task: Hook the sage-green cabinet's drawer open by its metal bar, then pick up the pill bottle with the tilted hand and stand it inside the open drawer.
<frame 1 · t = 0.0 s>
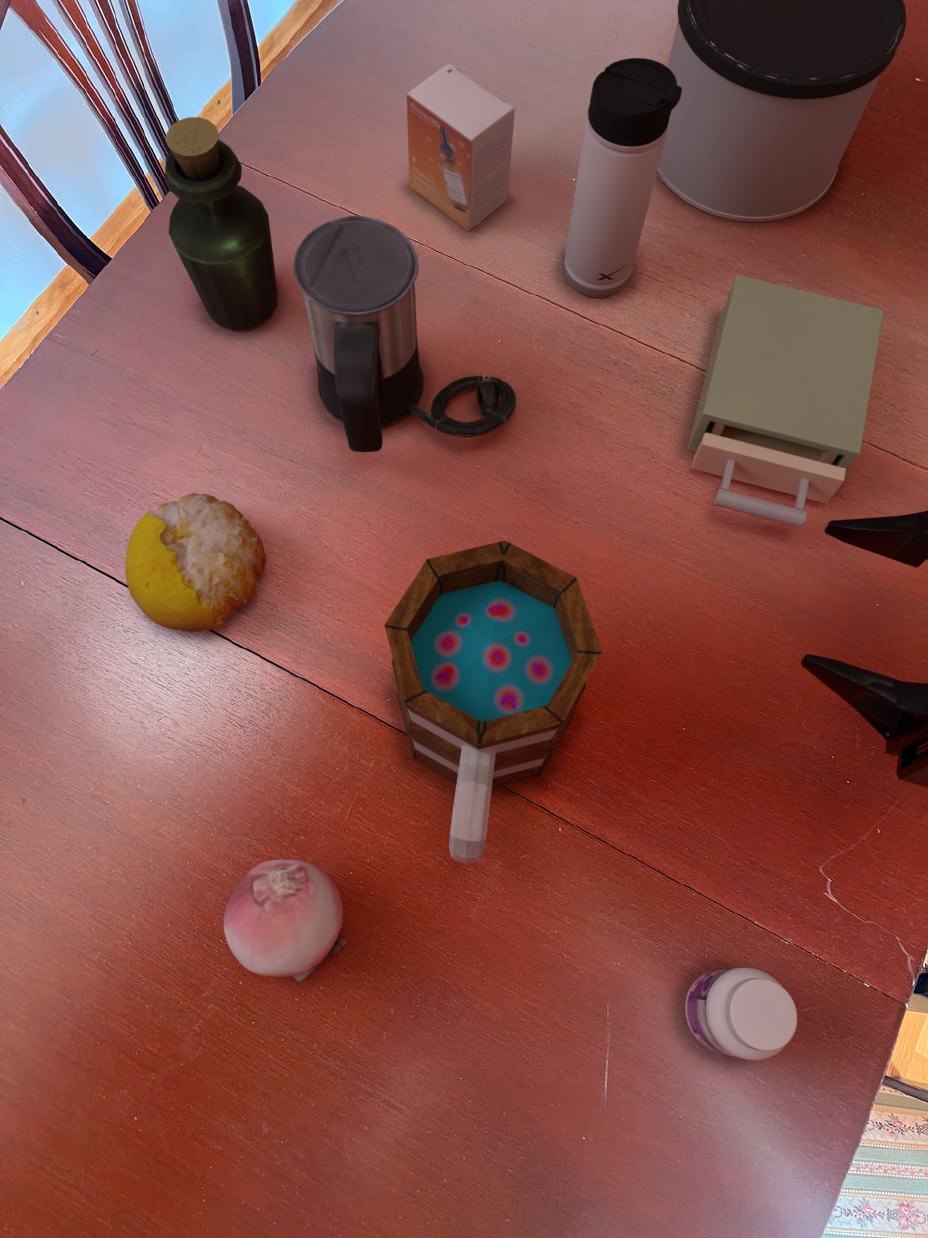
hand: (815, 590, 58), 17 cm above the table, tool horizontal, fingers open, 9 cm apart
mug: (479, 745, 72), on the table
pill bottle: (720, 1011, 65), on the table
milk frother: (415, 398, 83), on the table
container: (742, 150, 94), on the table
drawer: (775, 427, 79), point 3 cm above the table, slide at 1.0 cm
small box: (458, 196, 91), on the table
turnip: (292, 923, 67), on the table
cabinet: (774, 399, 83), on the table
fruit: (205, 575, 77), on the table
potion bottle: (242, 304, 86), on the table
travel mug: (598, 273, 88), on the table
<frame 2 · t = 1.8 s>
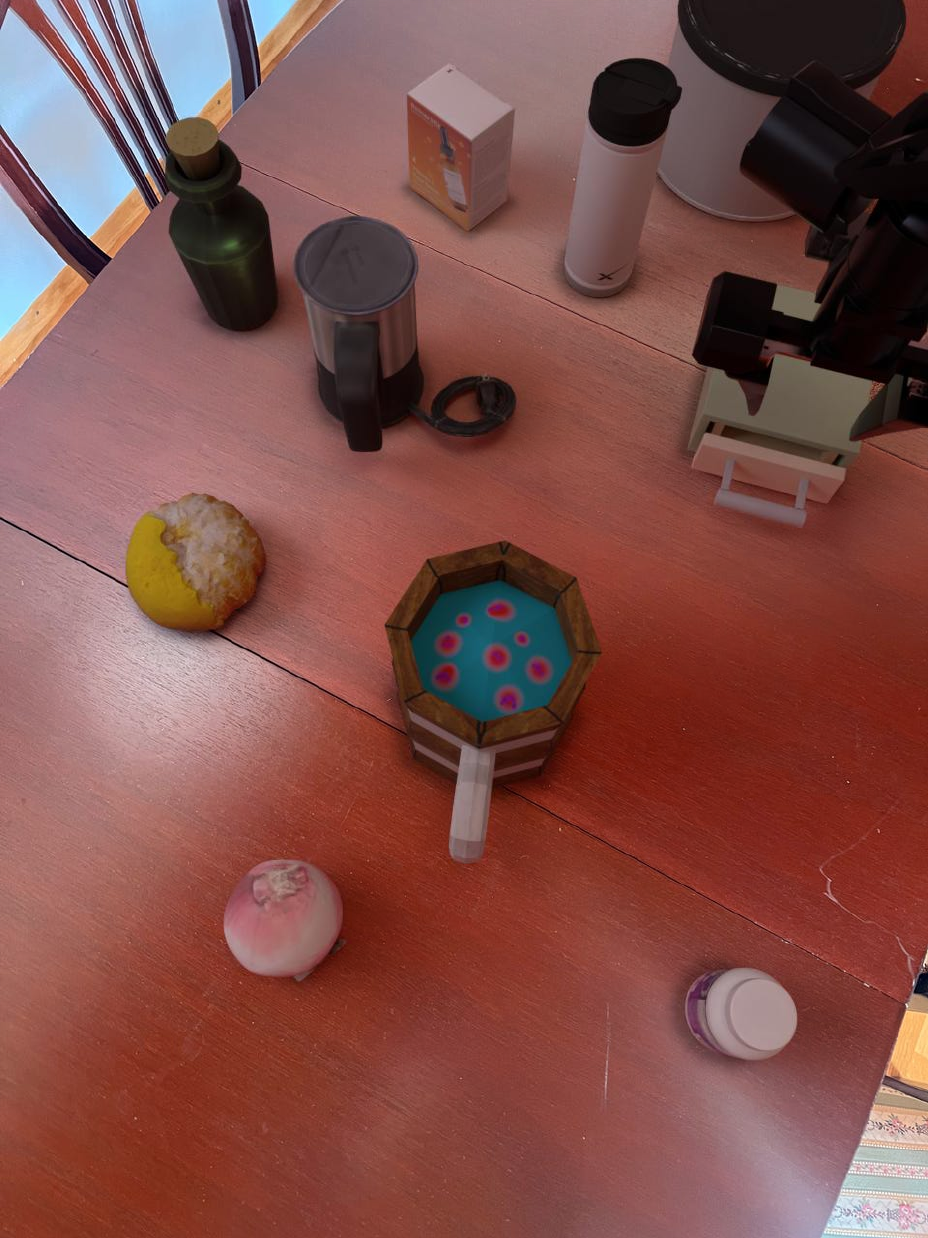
hand: (802, 422, 68), 12 cm above the table, tool pointing down, fingers open, 7 cm apart
nothing on the table moved.
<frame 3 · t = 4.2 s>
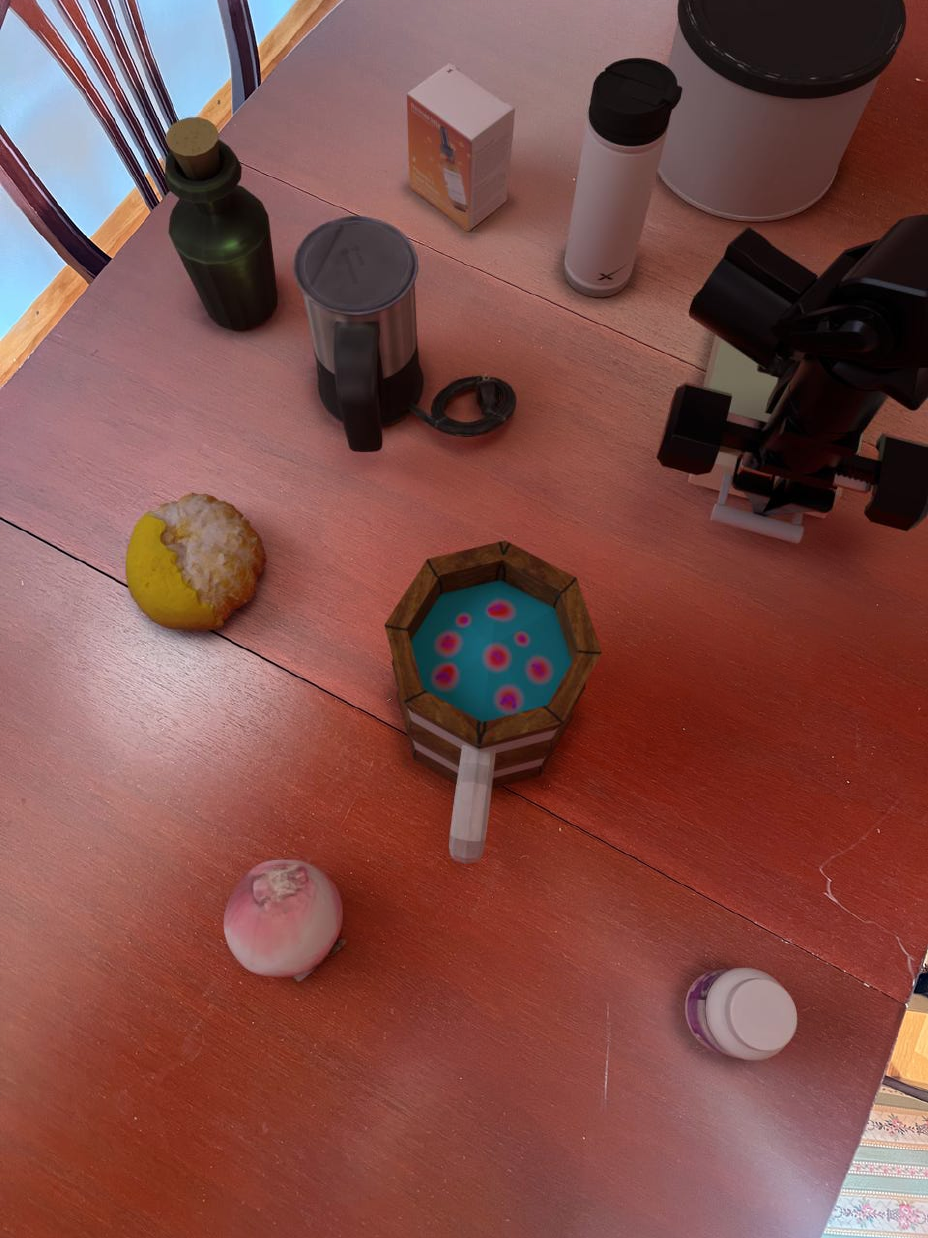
hand: (759, 510, 76), 3 cm above the table, tool pointing down, fingers closed
drawer: (772, 441, 78), point 3 cm above the table, slide at 2.4 cm, touching gripper
everything else where it was.
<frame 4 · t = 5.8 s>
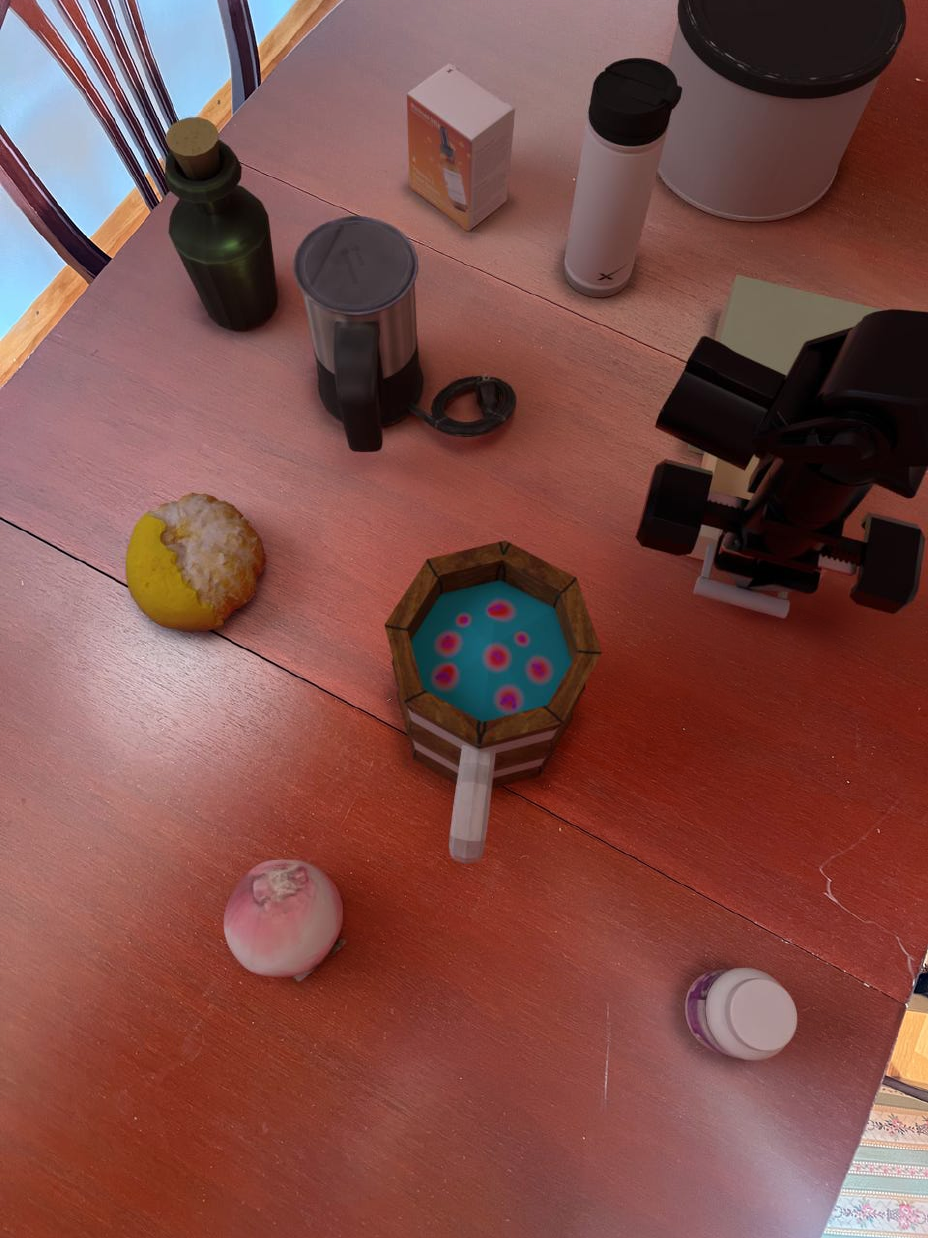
hand: (743, 583, 73), 3 cm above the table, tool pointing down, fingers closed, pressing on drawer
drawer: (758, 509, 76), point 3 cm above the table, slide at 9.0 cm, touching gripper
everything else where it was.
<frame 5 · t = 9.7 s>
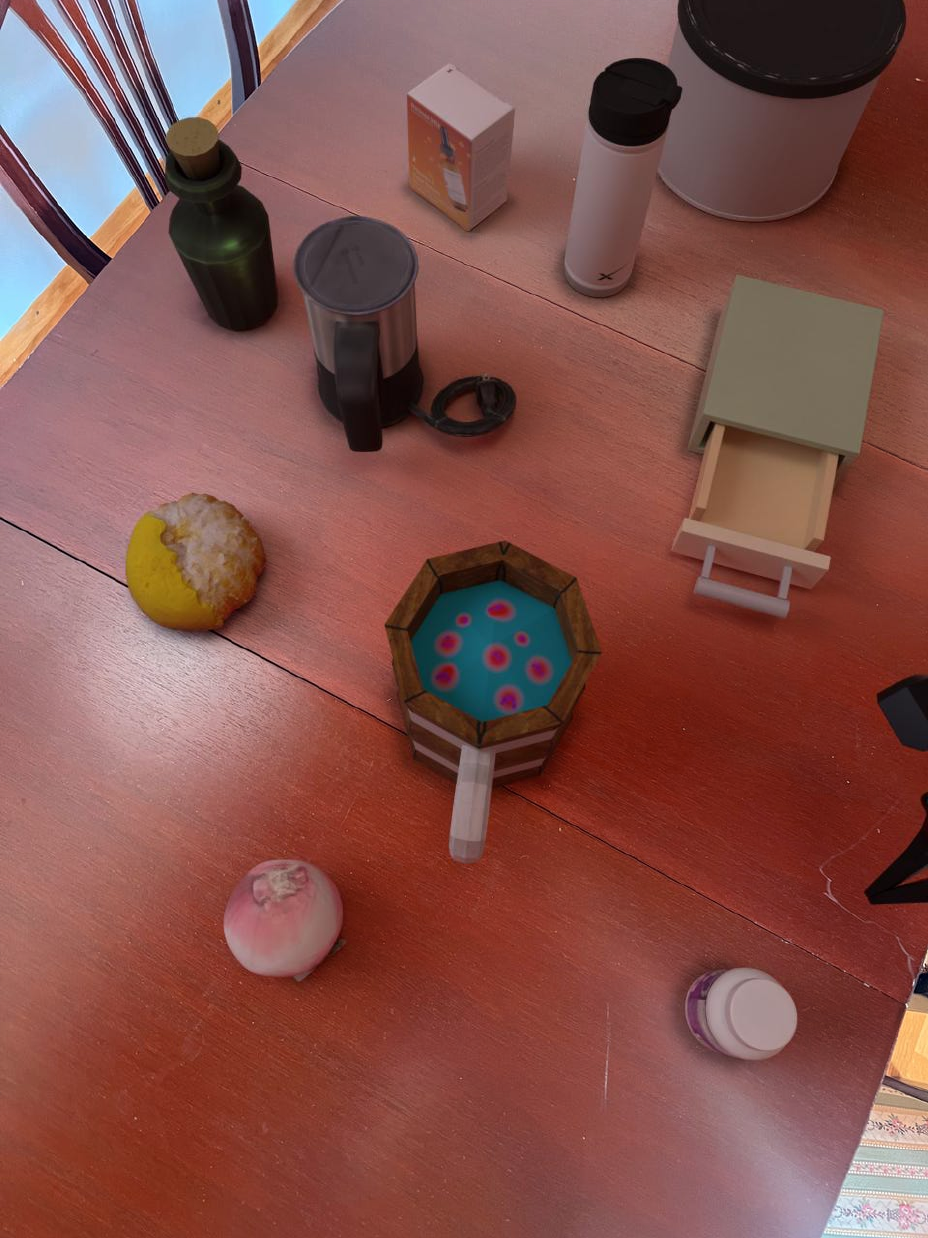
hand: (869, 897, 55), 13 cm above the table, tool tilted 40°, fingers closed
drawer: (758, 510, 76), point 3 cm above the table, slide at 9.0 cm
everything else where it was.
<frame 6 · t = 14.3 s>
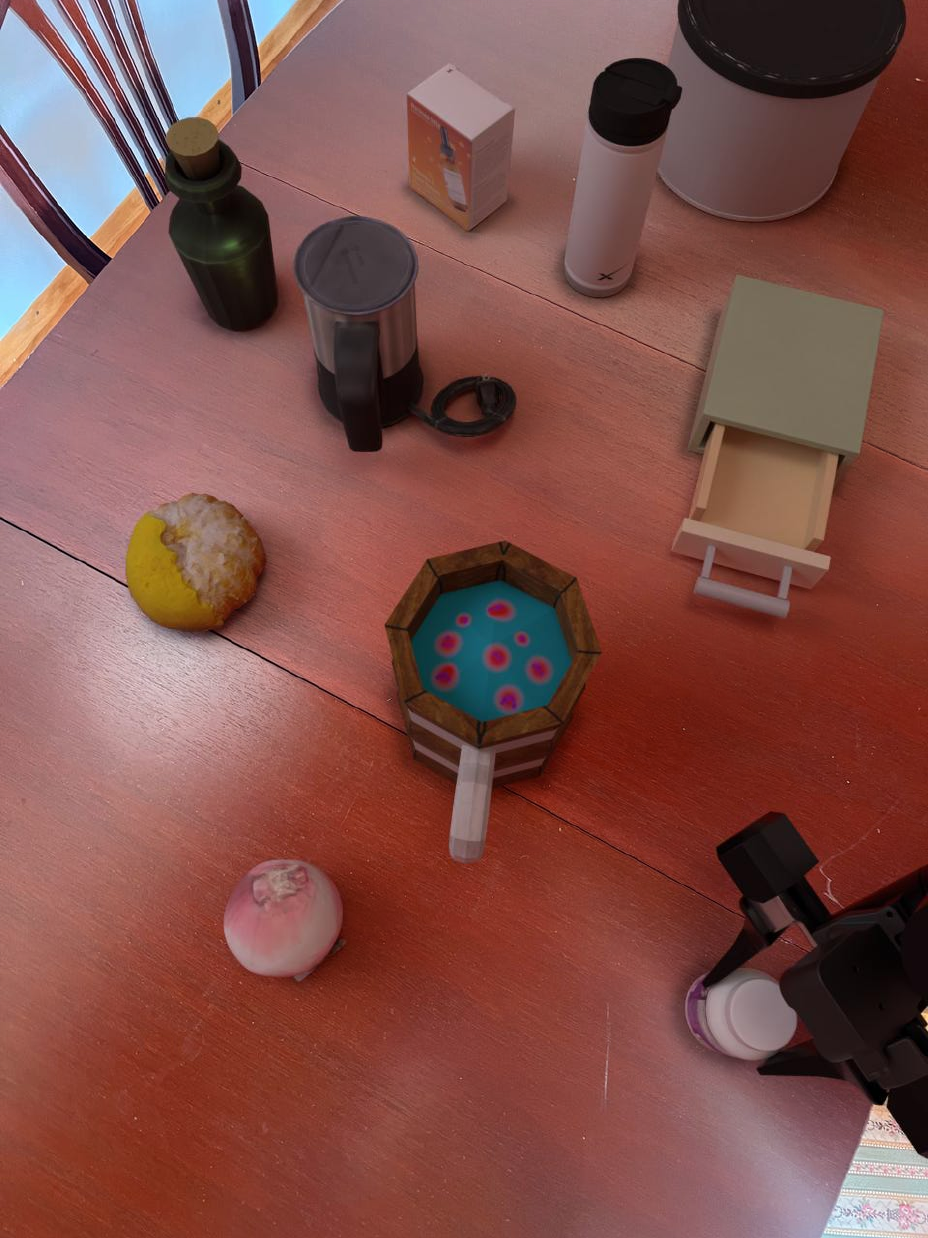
hand: (731, 1025, 59), 7 cm above the table, tool tilted 45°, fingers closed on pill bottle, 5 cm apart
pill bottle: (720, 1011, 65), on the table, touching gripper
everything else where it was.
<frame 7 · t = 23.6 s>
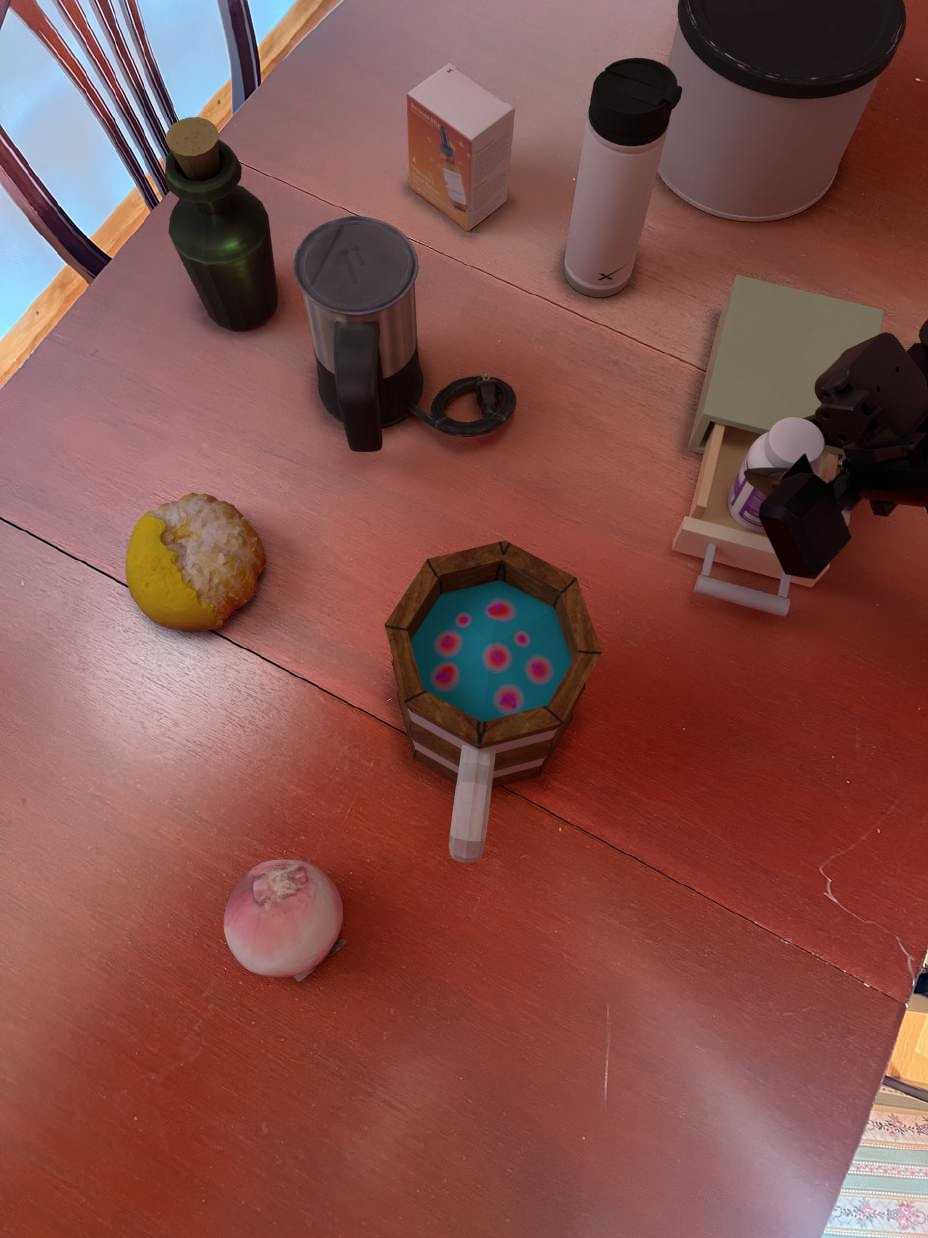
hand: (770, 451, 71), 9 cm above the table, tool tilted 45°, fingers closed on pill bottle, 5 cm apart
pill bottle: (757, 506, 77), point 2 cm above the table, touching drawer, gripper
drawer: (758, 508, 76), point 3 cm above the table, slide at 8.9 cm, touching pill bottle
everything else where it was.
when the fingers open (9 cm above the table, at t = 23.6 s): pill bottle stays where it is, resting on drawer.
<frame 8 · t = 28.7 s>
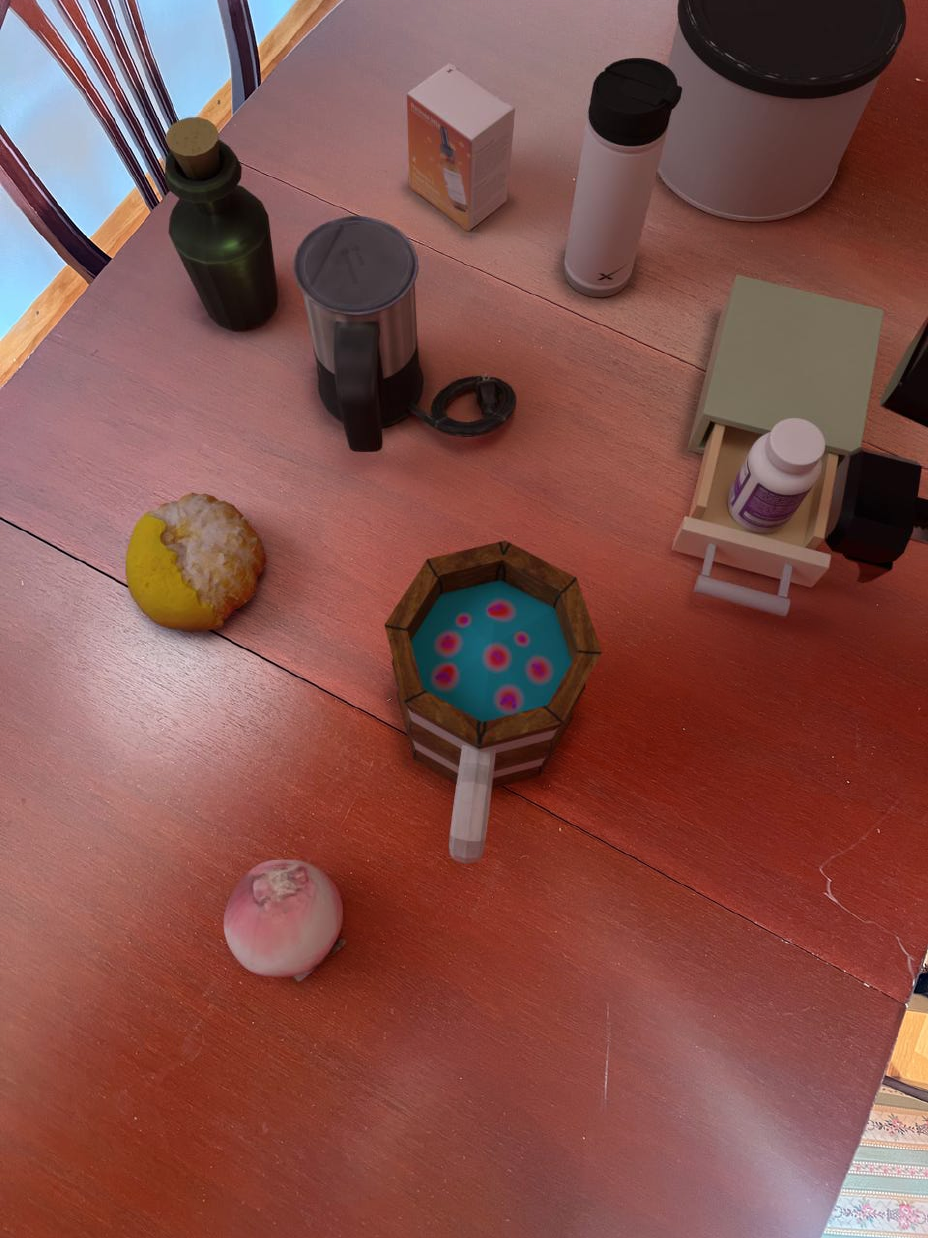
pill bottle: (757, 506, 77), point 2 cm above the table, touching drawer
everything else where it was.
at the end: drawer slide at 8.9 cm; pill bottle inside the target area in the drawer (0.5 cm from its centre), point 1.8 cm above the cabinet's base; pill bottle tilted 0° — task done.
